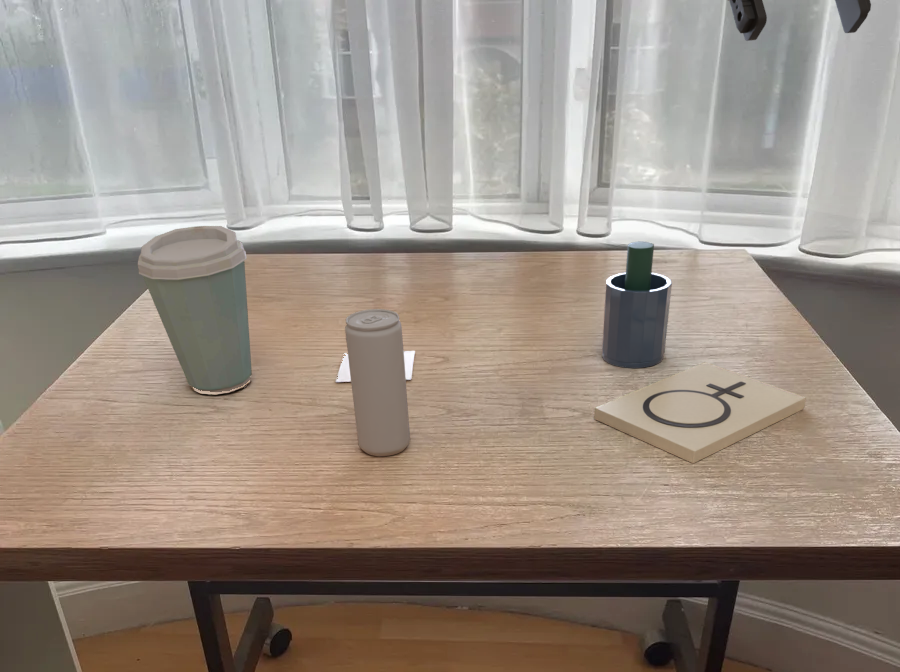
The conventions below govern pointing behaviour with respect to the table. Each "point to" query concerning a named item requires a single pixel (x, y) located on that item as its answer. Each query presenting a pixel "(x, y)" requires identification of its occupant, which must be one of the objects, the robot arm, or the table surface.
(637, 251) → the marker
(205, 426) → the table surface
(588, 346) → the table surface
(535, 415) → the table surface
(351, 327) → the beverage can
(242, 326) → the disposable coffee cup
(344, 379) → the white piece
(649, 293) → the pen cup
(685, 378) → the drawing board
